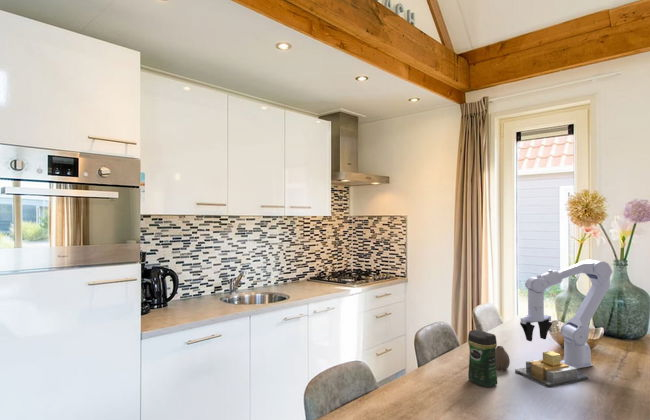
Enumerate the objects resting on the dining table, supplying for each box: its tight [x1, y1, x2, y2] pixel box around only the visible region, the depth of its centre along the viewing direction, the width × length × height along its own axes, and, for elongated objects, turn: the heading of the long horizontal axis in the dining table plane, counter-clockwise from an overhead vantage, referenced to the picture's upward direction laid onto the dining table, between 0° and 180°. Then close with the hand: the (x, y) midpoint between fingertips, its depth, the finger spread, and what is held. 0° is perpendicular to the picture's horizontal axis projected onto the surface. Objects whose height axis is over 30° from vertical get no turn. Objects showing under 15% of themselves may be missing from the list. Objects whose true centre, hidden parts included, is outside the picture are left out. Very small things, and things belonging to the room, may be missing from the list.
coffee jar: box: [467, 329, 498, 388], centre depth 146 cm, size 10×8×19 cm
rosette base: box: [514, 358, 589, 388], centre depth 152 cm, size 20×15×5 cm
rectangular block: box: [542, 350, 562, 367], centre depth 152 cm, size 4×4×8 cm
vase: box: [495, 345, 511, 372], centre depth 159 cm, size 7×7×9 cm
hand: (536, 339), depth 164 cm, fingers open, 7 cm apart
